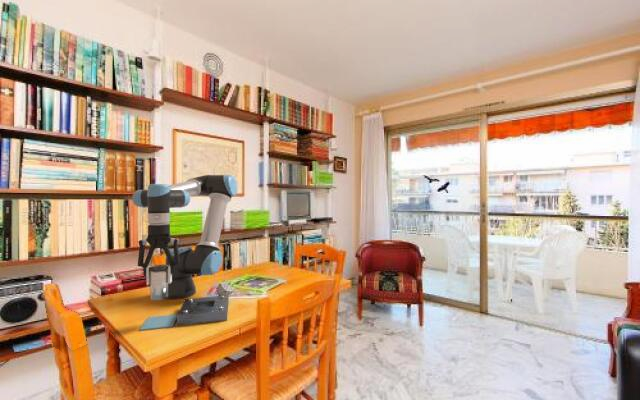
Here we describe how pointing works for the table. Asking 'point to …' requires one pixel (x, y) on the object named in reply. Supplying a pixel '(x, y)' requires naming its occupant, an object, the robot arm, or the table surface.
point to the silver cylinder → (159, 282)
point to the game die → (224, 289)
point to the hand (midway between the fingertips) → (159, 283)
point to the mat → (159, 322)
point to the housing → (203, 310)
